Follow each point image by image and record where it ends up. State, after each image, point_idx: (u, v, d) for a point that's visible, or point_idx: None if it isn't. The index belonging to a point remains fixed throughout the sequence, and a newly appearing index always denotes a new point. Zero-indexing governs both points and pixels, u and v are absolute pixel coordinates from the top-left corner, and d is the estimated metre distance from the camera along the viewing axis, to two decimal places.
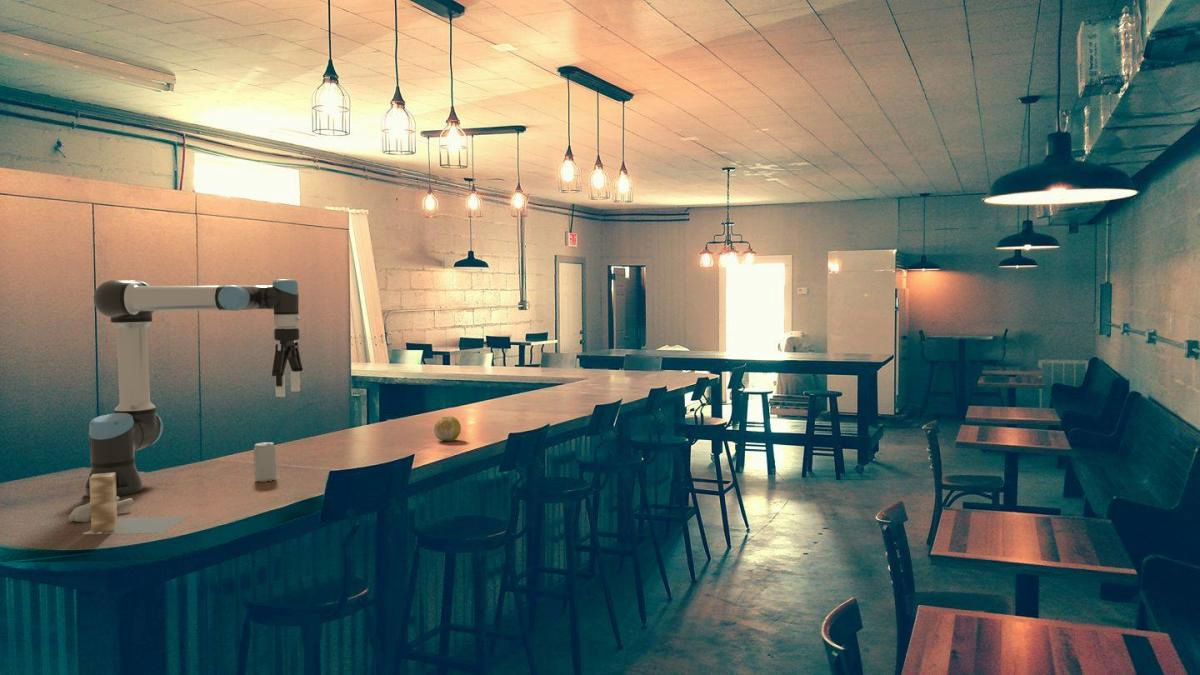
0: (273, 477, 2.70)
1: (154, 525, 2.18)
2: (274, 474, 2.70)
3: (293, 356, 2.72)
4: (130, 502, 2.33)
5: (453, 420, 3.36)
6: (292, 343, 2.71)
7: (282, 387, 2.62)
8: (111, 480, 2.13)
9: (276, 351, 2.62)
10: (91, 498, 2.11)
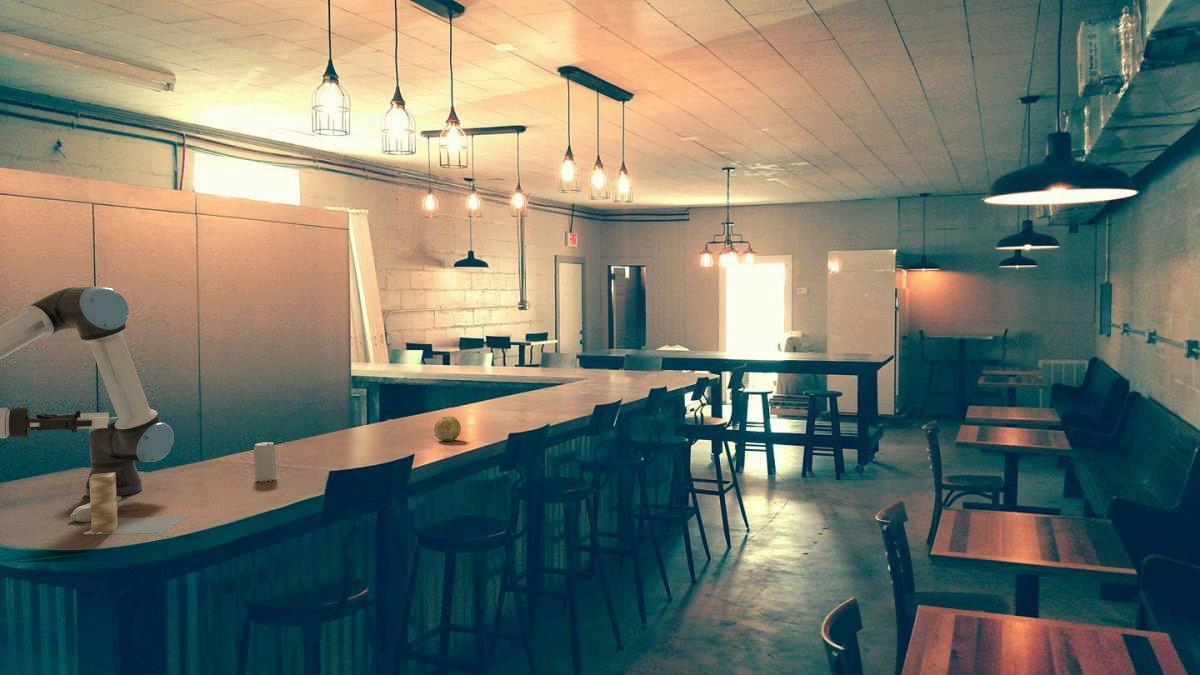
0: (273, 477, 2.70)
1: (154, 525, 2.18)
2: (274, 474, 2.70)
3: None
4: (131, 502, 2.32)
5: (453, 420, 3.36)
6: None
7: None
8: (111, 480, 2.13)
9: None
10: (91, 498, 2.11)
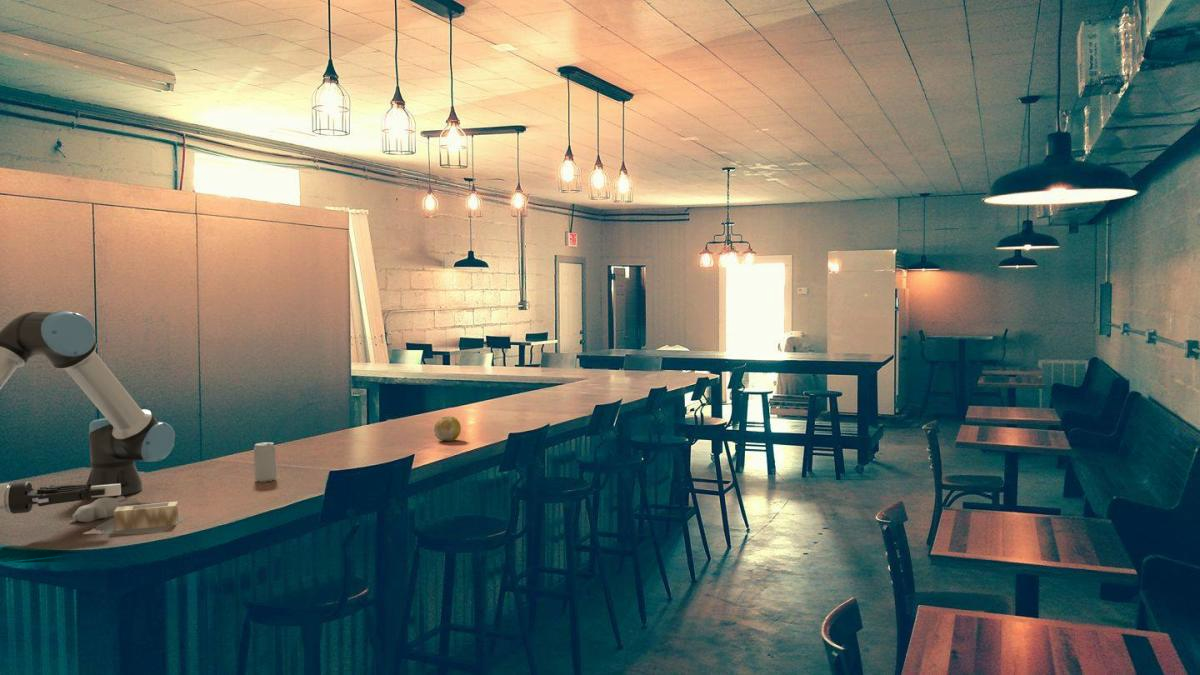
0: (273, 477, 2.70)
1: None
2: (274, 474, 2.70)
3: None
4: (134, 502, 2.32)
5: (453, 420, 3.36)
6: None
7: None
8: (171, 524, 2.18)
9: None
10: (153, 508, 2.16)
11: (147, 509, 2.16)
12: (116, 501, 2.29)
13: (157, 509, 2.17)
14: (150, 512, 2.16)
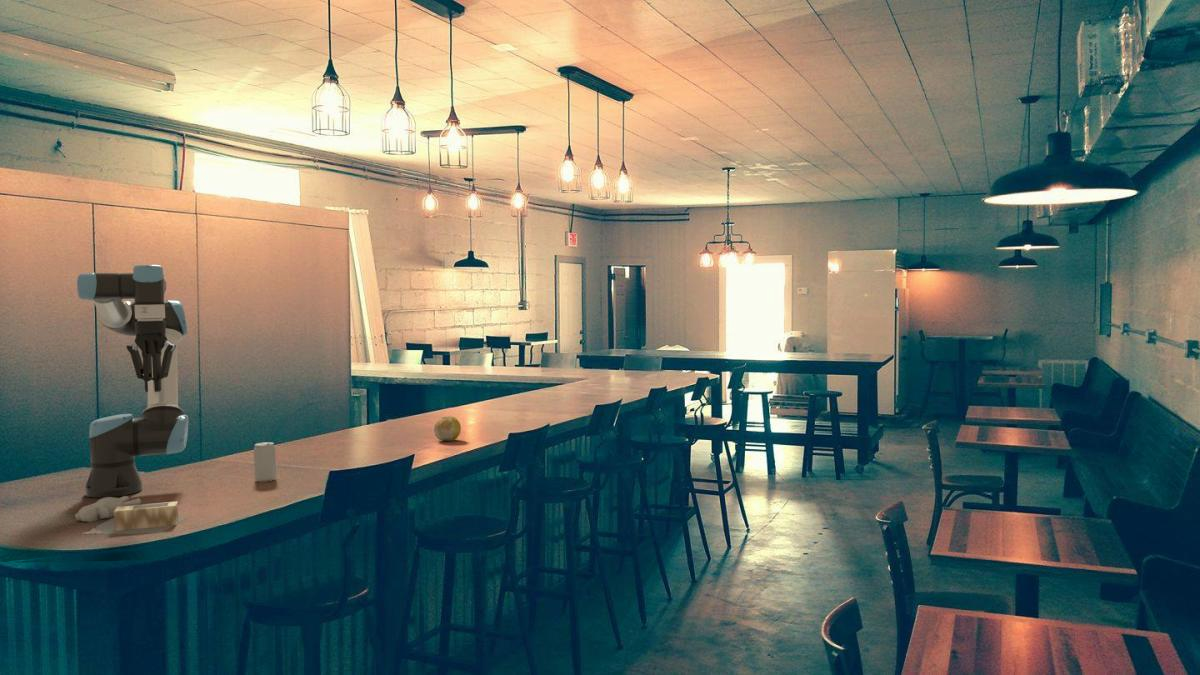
0: (273, 477, 2.70)
1: None
2: (274, 474, 2.70)
3: None
4: (137, 502, 2.32)
5: (453, 420, 3.36)
6: (158, 336, 2.36)
7: None
8: (171, 524, 2.18)
9: None
10: (153, 508, 2.16)
11: (147, 509, 2.16)
12: (119, 501, 2.29)
13: (157, 509, 2.17)
14: (150, 512, 2.16)
